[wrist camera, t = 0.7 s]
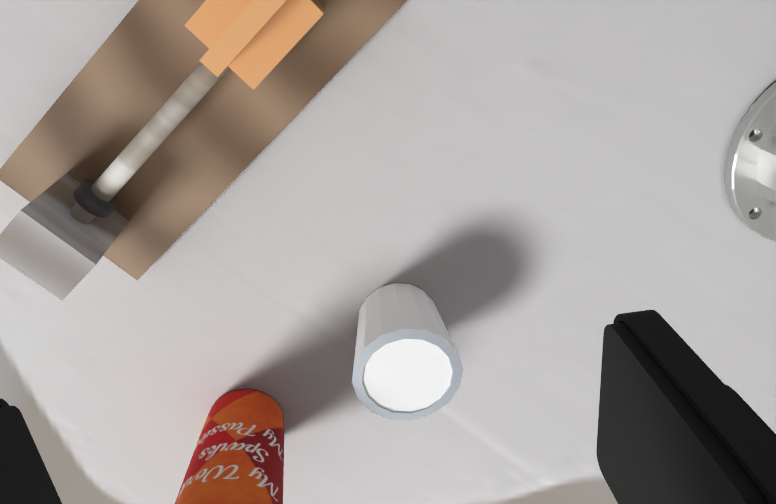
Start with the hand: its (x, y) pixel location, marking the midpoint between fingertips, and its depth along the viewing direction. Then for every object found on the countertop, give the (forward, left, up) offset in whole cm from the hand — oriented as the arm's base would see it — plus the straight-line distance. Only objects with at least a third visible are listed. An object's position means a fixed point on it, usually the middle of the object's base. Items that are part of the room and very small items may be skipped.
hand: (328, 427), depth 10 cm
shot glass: (+9, +15, -31) cm, 35 cm away
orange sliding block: (0, -5, -28) cm, 28 cm away
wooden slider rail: (+6, -5, -30) cm, 31 cm away
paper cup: (+23, +13, -31) cm, 40 cm away
